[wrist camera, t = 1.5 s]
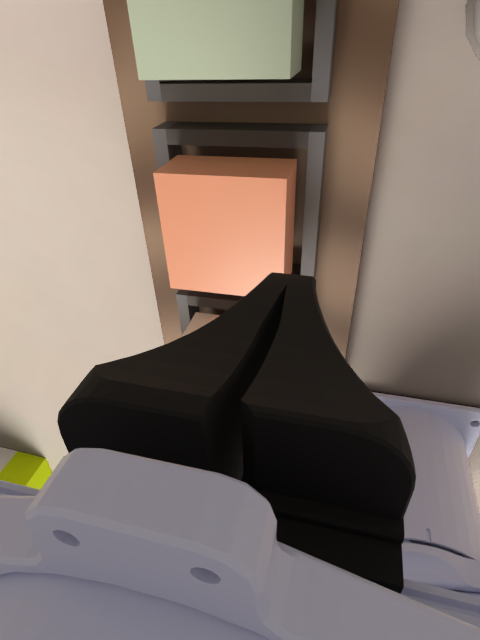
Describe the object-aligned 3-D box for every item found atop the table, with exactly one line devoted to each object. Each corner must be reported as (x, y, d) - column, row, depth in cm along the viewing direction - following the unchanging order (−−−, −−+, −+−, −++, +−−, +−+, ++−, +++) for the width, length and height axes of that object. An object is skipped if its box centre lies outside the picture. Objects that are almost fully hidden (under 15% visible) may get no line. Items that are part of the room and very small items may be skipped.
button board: (340, 384, 27) (337, 420, 24) (178, 359, 29) (161, 390, 27) (426, -195, 12) (438, -244, 10) (97, -148, 15) (45, -178, 13)
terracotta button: (291, 271, 19) (282, 300, 17) (189, 261, 20) (170, 288, 18) (297, 159, 16) (286, 178, 14) (177, 154, 17) (152, 173, 16)
